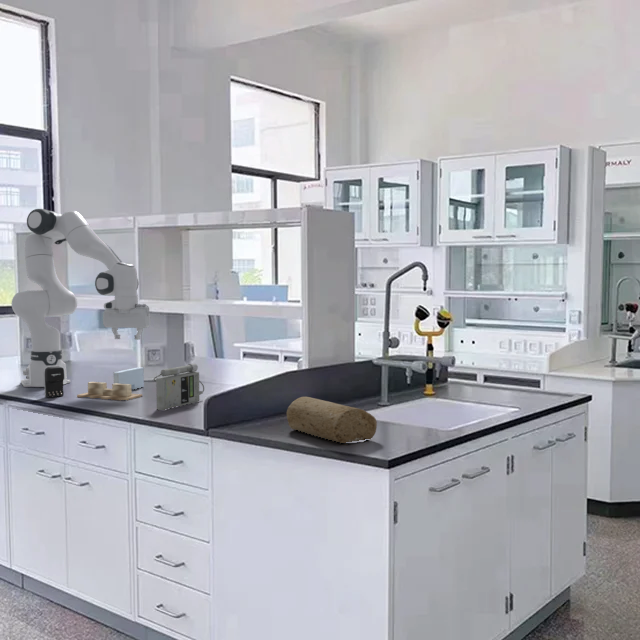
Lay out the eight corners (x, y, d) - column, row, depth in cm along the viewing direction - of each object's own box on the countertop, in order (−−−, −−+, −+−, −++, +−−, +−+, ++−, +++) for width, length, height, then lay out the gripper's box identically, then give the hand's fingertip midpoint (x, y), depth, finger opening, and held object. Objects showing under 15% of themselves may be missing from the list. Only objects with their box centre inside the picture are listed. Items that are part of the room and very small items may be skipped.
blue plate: (118, 393, 286) (118, 372, 286) (113, 393, 287) (113, 372, 286) (143, 387, 301) (143, 367, 300) (139, 386, 302) (138, 367, 301)
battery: (47, 398, 276) (47, 367, 275) (43, 397, 278) (42, 366, 278) (66, 396, 280) (65, 366, 279) (62, 395, 283) (61, 365, 282)
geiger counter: (164, 370, 249) (210, 361, 271) (150, 368, 252) (196, 360, 274) (165, 411, 250) (211, 399, 272) (150, 409, 253) (197, 398, 275)
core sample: (320, 425, 227) (320, 393, 227) (378, 441, 206) (378, 405, 206) (282, 431, 219) (282, 398, 218) (338, 448, 198) (338, 411, 197)
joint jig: (77, 397, 278) (76, 383, 278) (94, 392, 288) (94, 380, 287) (125, 400, 270) (125, 387, 270) (142, 396, 279) (142, 383, 279)
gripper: (153, 303, 290) (154, 339, 291) (110, 303, 298) (111, 338, 299) (144, 304, 284) (144, 340, 285) (100, 304, 292) (101, 339, 293)
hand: (127, 339), depth 292 cm, fingers open, 8 cm apart
